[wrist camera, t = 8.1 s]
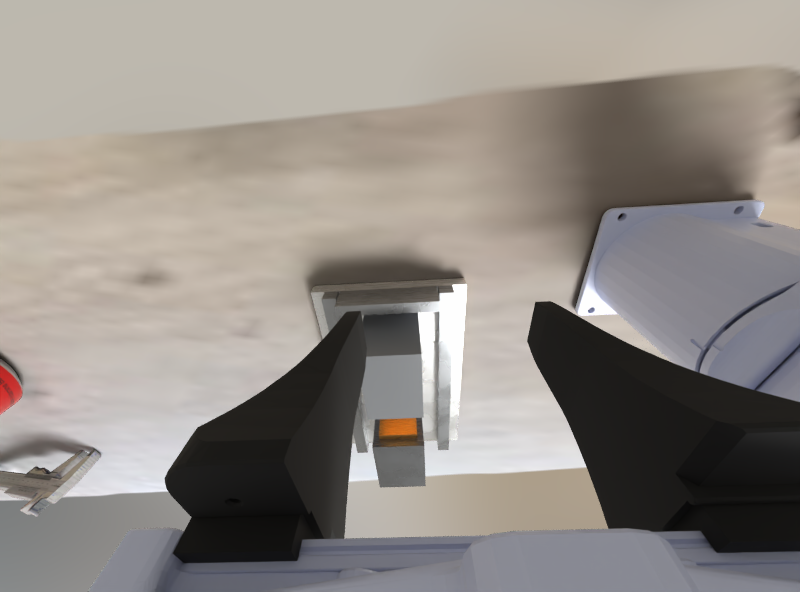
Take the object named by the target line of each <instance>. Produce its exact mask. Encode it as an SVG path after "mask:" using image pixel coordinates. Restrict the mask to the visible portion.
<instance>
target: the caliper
mask: <svg viewBox="0 0 800 592" xmlns="http://www.w3.org/2000/svg"><path fill="white" fill-rule="evenodd" d="M100 457H101V454H100V453H98V452H97V451H96V450H94V449H93V450H92V451H91V452H90V453H89V454H88V453H87V452H85V451H79V452H78V453H77V454H75V455H74V456H72V457H71V458H70V459H68V460H67V461H66V462H64V463H63V464H61V465H60V466H59V467H57V468H56V469H55V470H53V471H52V472H50V471H49V470H47V469H45V468H38V467H34V468H33V469H32V470H31V471H29V472H28V473H27V474H22V473H14V472H6V471H0V490H3V491H5V492H4V493H6V494H8V495H10V496H11V497H14V498H19V499H24V500H29V502H28V503H27V504H26V505H25V506H24V507H22V508H21V511H22V512H24V513H26V514H28V515H29V514H33V515H34V516H38V515H39V514H40V513H41V512H42V511H43V510H44V509H45V508H46V507H47V506H48V505H49V504H51V503H53V504H55V503H56V502H57V501H58V500H59V499H60V498H62V497H63V496H64V495H65V494H66V493H67V492H68V491H69V490H70V489H71V488H72V487H74V486H75V485H76V484H77V483H78V482H79V481H80V480H81V479H82V477H83V476H84V475H85V474H86V473H87V472H88V471H89V470H90V469H91V467H92V466H93V465H94V464H95V463H96V462H97V461H98V460H99V458H100Z"/></svg>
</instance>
